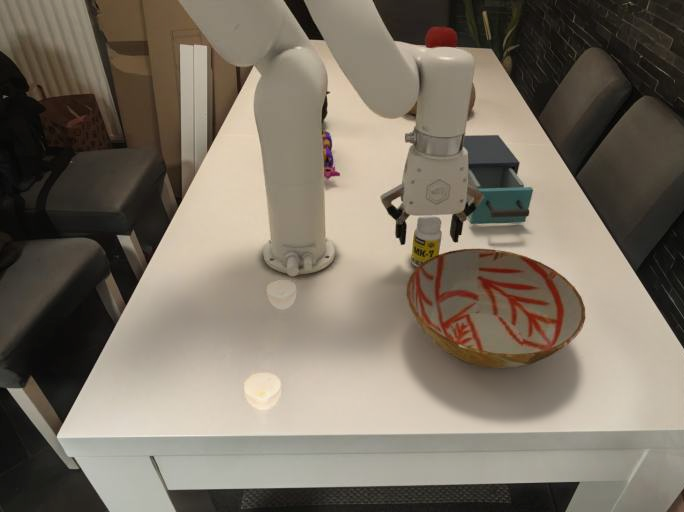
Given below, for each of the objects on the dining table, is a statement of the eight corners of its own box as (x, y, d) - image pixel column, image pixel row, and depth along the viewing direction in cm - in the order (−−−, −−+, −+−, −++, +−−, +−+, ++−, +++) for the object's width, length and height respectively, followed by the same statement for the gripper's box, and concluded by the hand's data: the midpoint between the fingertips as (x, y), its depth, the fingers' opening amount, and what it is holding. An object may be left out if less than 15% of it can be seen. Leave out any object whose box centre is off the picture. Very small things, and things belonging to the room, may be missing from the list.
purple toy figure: (336, 142, 136) (335, 90, 127) (340, 188, 117) (339, 131, 109) (276, 142, 134) (272, 90, 126) (271, 189, 116) (266, 131, 108)
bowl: (544, 289, 93) (556, 249, 87) (593, 399, 74) (612, 357, 69) (397, 287, 92) (400, 246, 86) (409, 399, 73) (414, 356, 68)
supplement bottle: (408, 266, 96) (412, 224, 91) (414, 252, 100) (418, 211, 94) (434, 272, 95) (440, 229, 90) (440, 258, 99) (446, 216, 93)
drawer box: (510, 202, 116) (519, 162, 110) (454, 204, 114) (460, 163, 108) (491, 172, 126) (498, 134, 120) (439, 174, 125) (444, 135, 119)
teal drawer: (533, 235, 104) (542, 202, 100) (477, 237, 103) (484, 204, 98) (504, 191, 117) (511, 160, 113) (454, 193, 116) (459, 161, 111)
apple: (459, 62, 193) (464, 24, 185) (446, 68, 186) (450, 30, 178) (432, 56, 197) (435, 19, 189) (417, 62, 190) (421, 24, 182)
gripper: (386, 152, 79) (381, 253, 91) (501, 149, 81) (482, 249, 93) (378, 132, 85) (375, 230, 96) (486, 130, 87) (470, 226, 98)
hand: (427, 239), depth 94 cm, fingers open, 8 cm apart
